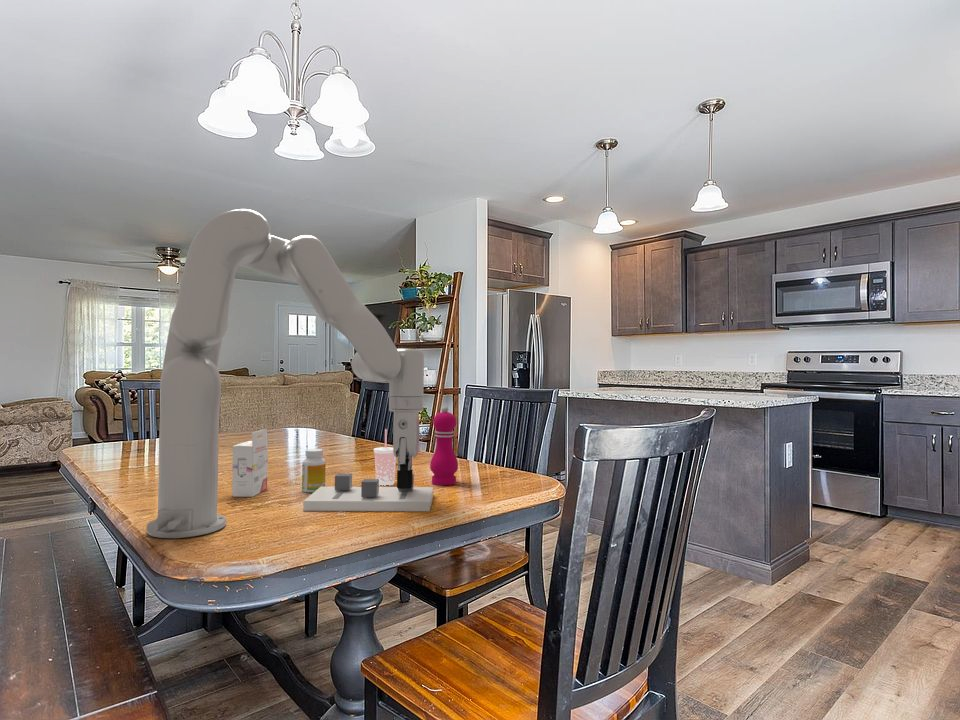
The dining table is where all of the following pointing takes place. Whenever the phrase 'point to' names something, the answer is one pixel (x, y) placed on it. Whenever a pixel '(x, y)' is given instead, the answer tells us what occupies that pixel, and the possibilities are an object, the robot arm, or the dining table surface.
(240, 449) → the ink cartridge box
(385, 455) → the beverage cup
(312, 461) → the supplement bottle
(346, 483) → the dark grey cube
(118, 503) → the dining table surface
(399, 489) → the dark gray cube
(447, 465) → the pepper mill
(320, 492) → the switch panel
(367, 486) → the dark grey cube
